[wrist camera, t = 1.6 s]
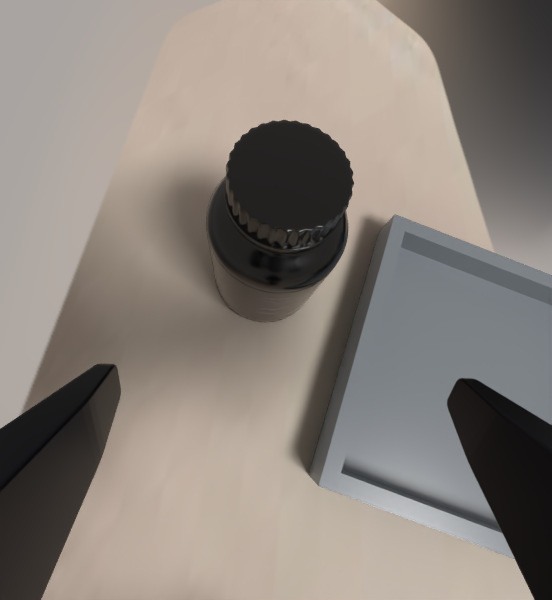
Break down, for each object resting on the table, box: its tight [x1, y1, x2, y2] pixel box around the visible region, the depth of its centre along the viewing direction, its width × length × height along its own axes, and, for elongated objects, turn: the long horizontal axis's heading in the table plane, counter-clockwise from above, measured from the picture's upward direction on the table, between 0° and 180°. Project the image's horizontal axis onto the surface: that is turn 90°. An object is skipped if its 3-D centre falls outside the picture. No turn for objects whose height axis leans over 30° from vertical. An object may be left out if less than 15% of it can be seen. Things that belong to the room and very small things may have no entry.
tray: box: [308, 215, 552, 559], centre depth 22 cm, size 18×18×3 cm
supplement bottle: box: [206, 120, 354, 322], centre depth 18 cm, size 7×7×12 cm
